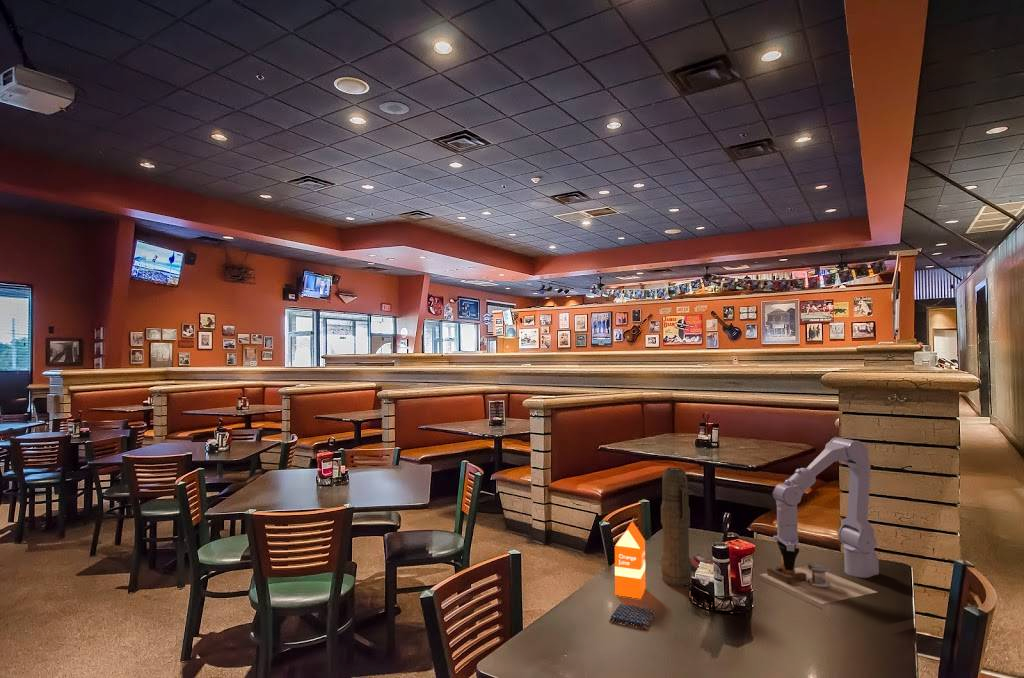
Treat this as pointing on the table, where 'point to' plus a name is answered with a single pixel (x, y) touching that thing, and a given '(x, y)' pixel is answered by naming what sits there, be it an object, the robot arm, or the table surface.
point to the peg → (787, 570)
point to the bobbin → (818, 575)
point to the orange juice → (630, 564)
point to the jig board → (835, 592)
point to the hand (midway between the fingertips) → (788, 567)
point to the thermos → (675, 528)
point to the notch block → (788, 579)
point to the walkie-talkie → (696, 562)
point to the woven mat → (633, 616)
